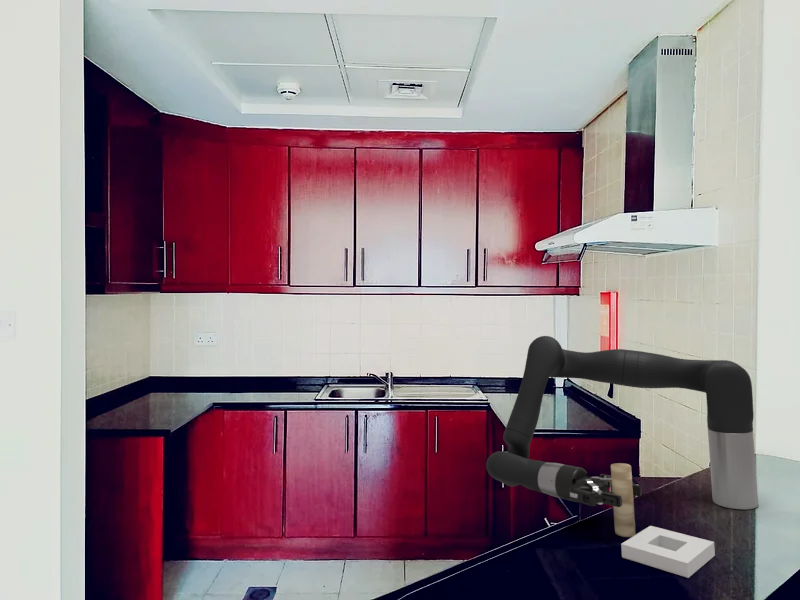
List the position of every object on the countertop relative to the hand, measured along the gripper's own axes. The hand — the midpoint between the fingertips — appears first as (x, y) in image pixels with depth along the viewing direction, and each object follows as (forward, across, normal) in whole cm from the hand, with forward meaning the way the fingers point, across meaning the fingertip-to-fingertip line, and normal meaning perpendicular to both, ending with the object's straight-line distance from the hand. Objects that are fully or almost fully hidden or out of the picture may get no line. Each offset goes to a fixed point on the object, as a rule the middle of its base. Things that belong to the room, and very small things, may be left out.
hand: (631, 496), depth 114 cm
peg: (-2, 0, +8) cm, 8 cm away
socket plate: (+9, -5, +8) cm, 13 cm away
